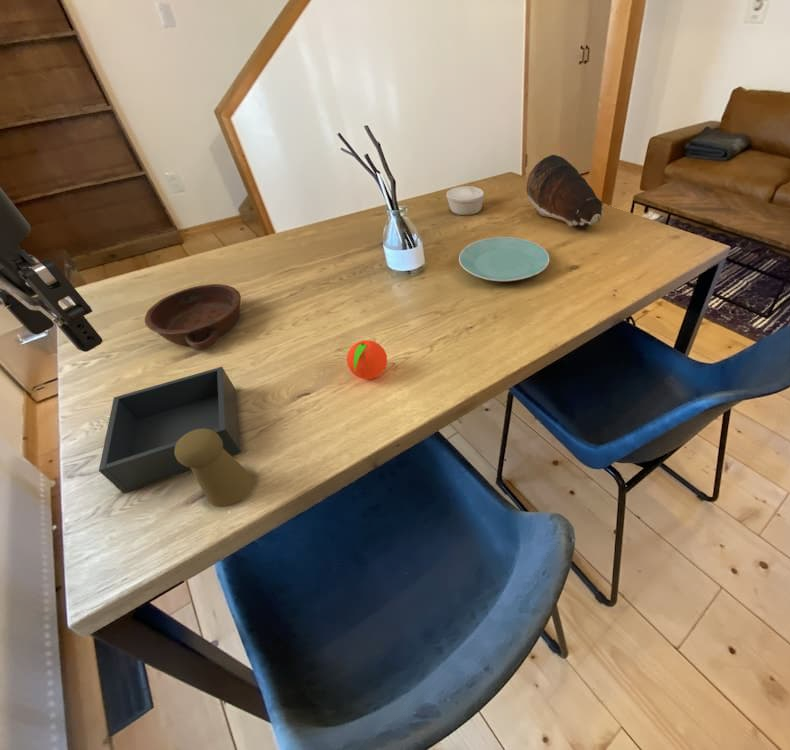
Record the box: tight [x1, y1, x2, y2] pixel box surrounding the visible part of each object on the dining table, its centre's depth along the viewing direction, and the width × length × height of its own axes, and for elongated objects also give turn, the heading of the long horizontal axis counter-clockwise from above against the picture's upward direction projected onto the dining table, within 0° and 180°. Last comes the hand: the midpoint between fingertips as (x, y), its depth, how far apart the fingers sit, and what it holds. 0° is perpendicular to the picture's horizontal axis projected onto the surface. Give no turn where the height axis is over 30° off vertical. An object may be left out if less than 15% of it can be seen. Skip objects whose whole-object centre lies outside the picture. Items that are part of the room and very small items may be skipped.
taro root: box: [525, 154, 605, 227], centre depth 124 cm, size 15×15×25 cm
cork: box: [174, 429, 254, 508], centre depth 59 cm, size 6×6×11 cm
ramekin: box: [445, 185, 485, 216], centre depth 133 cm, size 11×11×5 cm
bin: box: [98, 366, 242, 494], centre depth 68 cm, size 16×16×6 cm
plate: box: [458, 236, 550, 283], centre depth 107 cm, size 22×22×3 cm
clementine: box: [346, 339, 388, 380], centre depth 77 cm, size 8×7×7 cm
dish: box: [144, 283, 242, 351], centre depth 90 cm, size 18×22×5 cm
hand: (67, 338), depth 49 cm, fingers open, 8 cm apart
